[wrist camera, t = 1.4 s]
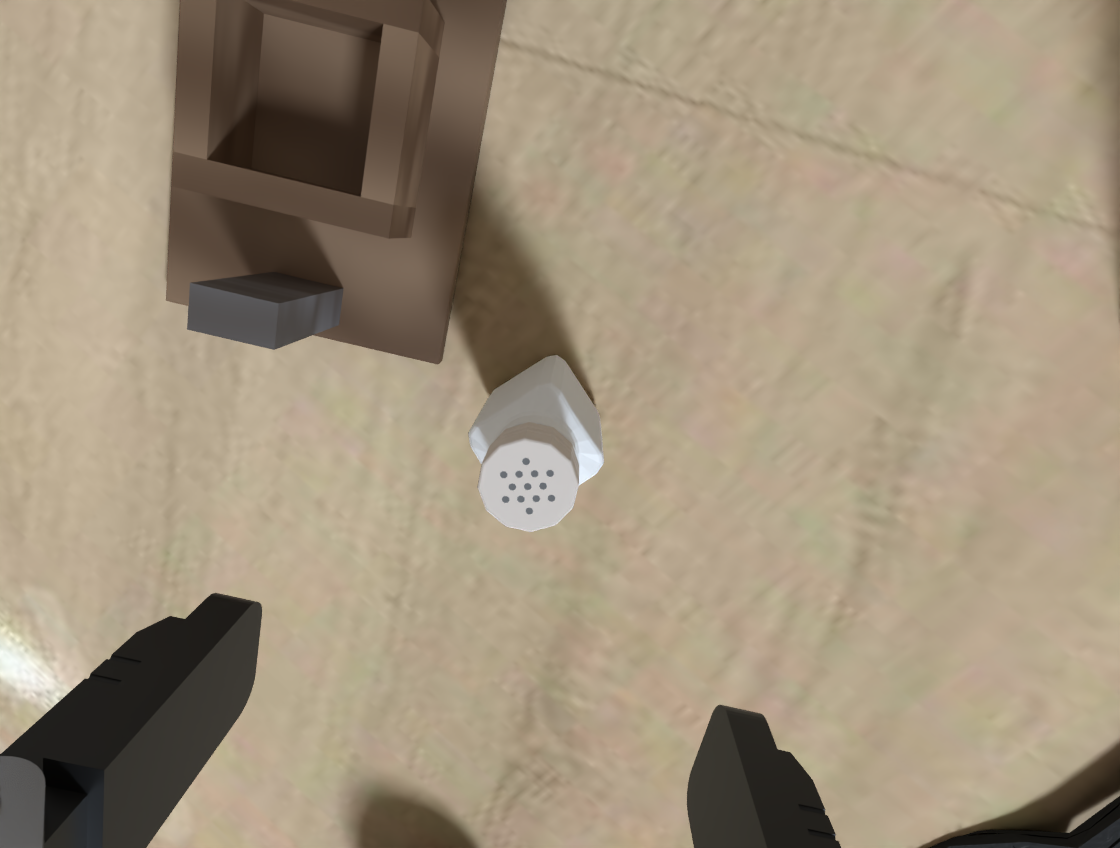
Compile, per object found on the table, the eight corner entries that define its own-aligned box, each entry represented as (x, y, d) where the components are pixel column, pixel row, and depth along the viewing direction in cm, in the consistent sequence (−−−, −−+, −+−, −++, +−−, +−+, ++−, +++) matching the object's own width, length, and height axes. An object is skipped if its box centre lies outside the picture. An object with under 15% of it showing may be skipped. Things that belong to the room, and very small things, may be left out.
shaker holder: (203, -193, 23) (52, -360, 16) (526, -109, 23) (503, -239, 17) (177, 298, 28) (55, 318, 22) (441, 360, 29) (400, 398, 22)
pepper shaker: (532, 463, 30) (510, 564, 21) (484, 393, 29) (439, 467, 20) (605, 420, 29) (615, 505, 20) (558, 347, 28) (546, 401, 19)
